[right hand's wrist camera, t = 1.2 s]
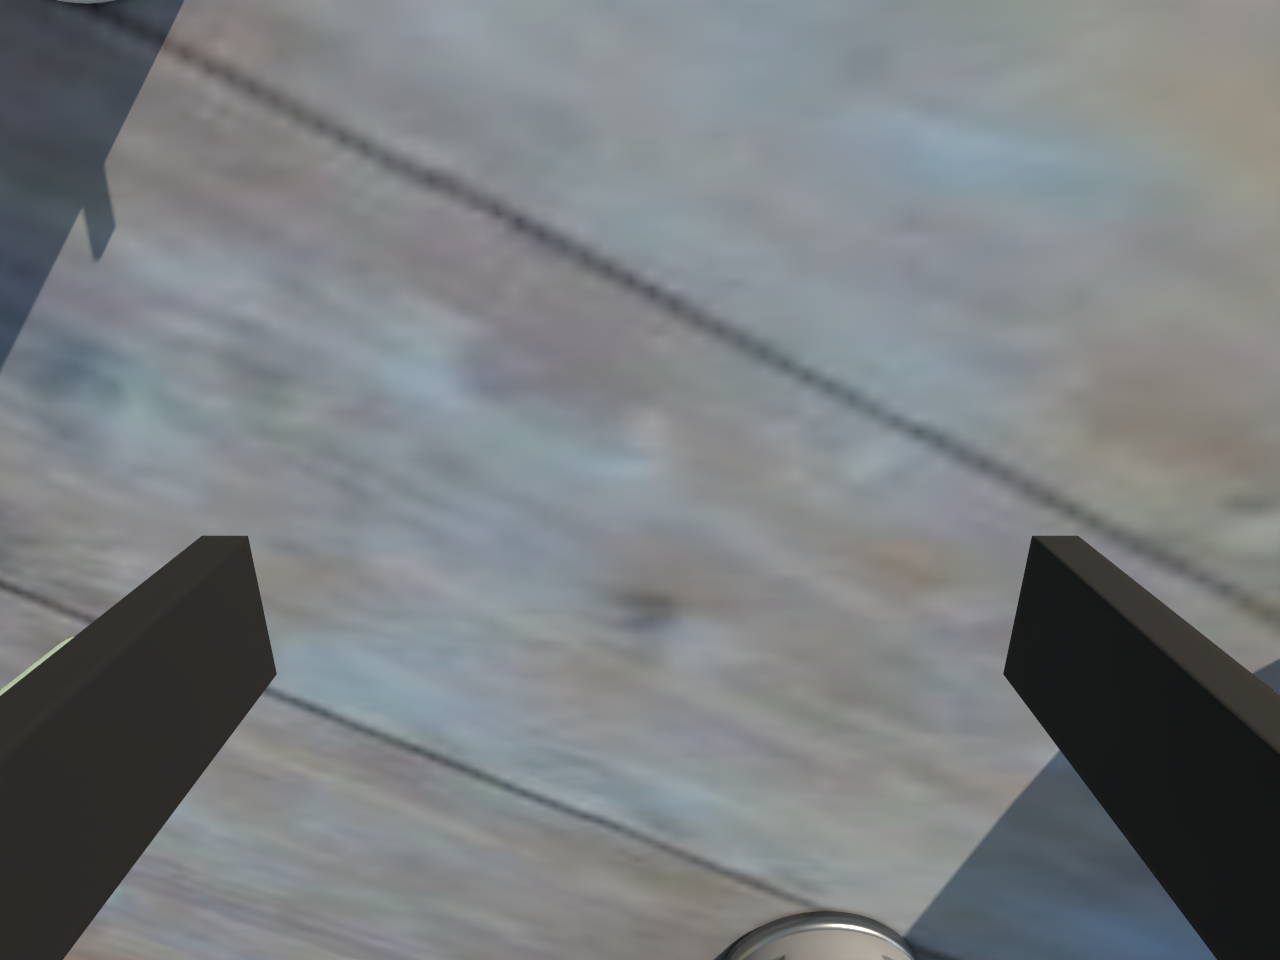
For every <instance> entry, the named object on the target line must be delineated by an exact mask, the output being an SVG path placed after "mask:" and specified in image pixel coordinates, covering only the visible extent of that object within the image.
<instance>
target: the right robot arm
mask: <svg viewBox="0 0 1280 960" xmlns="http://www.w3.org/2000/svg"><path fill="white" fill-rule="evenodd" d="M276 674H277V673H276V669H275V664H274V659H273V654H272V649H271V645H270V640H269V635H268V630H267V625H266V621H265V616H264V611H263V606H262V601H261V597H260V592H259V587H258V582H257V577H256V573H255V568H254V563H253V558H252V554H251V549H250V544H249V539H248V536H201V537H200V538H199V539H197V540H196V541H195V542H194V543H192V544H191V545H190V546H189V547H187V548H186V549H185V550H184V551H182V552H181V553H180V554H179V555H177V556H176V557H175V558H173V559H172V560H171V561H170V562H168V563H167V564H166V565H165V566H163V567H162V568H161V569H160V570H158V571H157V572H156V573H155V574H153V575H152V576H151V577H149V578H148V579H147V580H146V581H144V582H143V583H142V584H141V585H139V586H138V587H137V588H136V589H134V590H133V591H132V592H131V593H129V594H128V595H127V596H125V597H124V598H123V599H122V600H120V601H119V602H118V603H117V604H115V605H114V606H113V607H112V608H110V609H109V610H108V611H107V612H105V613H104V614H103V615H102V616H100V617H99V618H98V619H96V620H95V621H94V622H93V623H91V624H90V625H89V626H88V627H86V628H85V629H84V630H83V631H81V632H80V633H79V634H78V635H76V636H75V637H74V638H72V639H71V640H70V641H69V642H67V643H66V644H65V645H64V646H62V647H61V648H60V649H59V650H57V651H56V652H55V653H54V654H52V655H51V656H50V657H48V658H47V659H46V660H45V661H43V662H42V663H41V664H40V665H38V666H37V667H36V668H35V669H33V670H32V671H31V672H30V673H28V674H27V675H26V676H24V677H23V678H22V679H21V680H19V681H18V682H17V683H16V684H14V685H13V686H12V687H11V688H9V689H8V690H7V691H6V692H4V693H3V694H2V695H1V696H0V960H63V959H64V957H65V956H66V955H67V953H68V952H69V951H70V949H71V948H72V947H73V945H74V944H75V943H76V941H77V940H78V939H79V937H80V936H81V935H82V933H83V932H84V931H85V929H86V928H87V927H88V925H89V924H90V923H91V921H92V920H93V919H94V917H95V916H96V915H97V913H98V912H99V911H100V909H101V908H102V907H103V905H104V904H105V903H106V901H107V900H108V899H109V897H110V896H111V895H112V893H113V892H114V891H115V889H116V888H117V887H118V885H119V884H120V883H121V881H122V880H123V879H124V877H125V876H126V875H127V873H128V872H129V871H130V869H131V868H132V867H133V865H134V864H135V863H136V861H137V860H138V859H139V857H140V856H141V855H142V853H143V852H144V851H145V849H146V848H147V847H148V845H149V844H150V843H151V841H152V840H153V839H154V837H155V836H156V834H157V833H158V832H159V830H160V829H161V828H162V826H163V825H164V824H165V822H166V821H167V820H168V818H169V817H170V816H171V814H172V813H173V812H174V810H175V809H176V808H177V806H178V805H179V804H180V802H181V801H182V800H183V798H184V797H185V796H186V794H187V793H188V792H189V790H190V789H191V788H192V786H193V785H194V784H195V782H196V781H197V780H198V778H199V777H200V776H201V774H202V773H203V772H204V770H205V769H206V768H207V766H208V765H209V764H210V762H211V761H212V760H213V758H214V757H215V756H216V754H217V753H218V752H219V750H220V749H221V748H222V746H223V745H224V744H225V742H226V741H227V740H228V738H229V737H230V736H231V734H232V733H233V732H234V730H235V729H236V728H237V726H238V725H239V724H240V722H241V721H242V720H243V718H244V717H245V716H246V714H247V713H248V712H249V710H250V709H251V708H252V706H253V705H254V704H255V702H256V701H257V700H258V698H259V697H260V696H261V694H262V693H263V692H264V690H265V689H266V688H267V686H268V685H269V684H270V682H271V681H272V680H273V678H274V677H275V676H276ZM1003 674H1004V676H1005V677H1006V678H1007V680H1008V681H1009V682H1010V684H1011V685H1012V686H1013V688H1014V689H1015V690H1016V692H1017V693H1018V694H1019V696H1020V697H1021V698H1022V700H1023V701H1024V702H1025V704H1026V705H1027V706H1028V708H1029V709H1030V710H1031V712H1032V713H1033V714H1034V716H1035V717H1036V718H1037V720H1038V721H1039V722H1040V724H1041V725H1042V726H1043V728H1044V729H1045V730H1046V732H1047V733H1048V734H1049V736H1050V737H1051V738H1052V740H1053V741H1054V742H1055V744H1056V745H1057V746H1058V748H1059V749H1060V750H1061V752H1062V753H1063V754H1064V756H1065V757H1066V758H1067V760H1068V761H1069V762H1070V764H1071V765H1072V766H1073V768H1074V769H1075V770H1076V772H1077V773H1078V774H1079V776H1080V777H1081V778H1082V780H1083V781H1084V782H1085V784H1086V785H1087V786H1088V788H1089V789H1090V790H1091V792H1092V793H1093V794H1094V796H1095V797H1096V798H1097V800H1098V801H1099V802H1100V804H1101V805H1102V806H1103V808H1104V809H1105V810H1106V812H1107V813H1108V814H1109V816H1110V817H1111V818H1112V820H1113V821H1114V822H1115V824H1116V825H1117V826H1118V828H1119V829H1120V830H1121V832H1122V833H1123V835H1124V836H1125V837H1126V839H1127V840H1128V841H1129V843H1130V844H1131V845H1132V847H1133V848H1134V849H1135V851H1136V852H1137V853H1138V855H1139V856H1140V857H1141V859H1142V860H1143V861H1144V863H1145V864H1146V865H1147V867H1148V868H1149V869H1150V871H1151V872H1152V873H1153V875H1154V876H1155V877H1156V879H1157V880H1158V881H1159V883H1160V884H1161V885H1162V887H1163V888H1164V889H1165V891H1166V892H1167V893H1168V895H1169V896H1170V897H1171V899H1172V900H1173V901H1174V903H1175V904H1176V905H1177V907H1178V908H1179V909H1180V911H1181V912H1182V913H1183V915H1184V916H1185V917H1186V919H1187V920H1188V921H1189V923H1190V924H1191V925H1192V927H1193V928H1194V929H1195V931H1196V932H1197V933H1198V935H1199V936H1200V937H1201V939H1202V940H1203V941H1204V943H1205V944H1206V945H1207V947H1208V948H1209V949H1210V951H1211V952H1212V953H1213V955H1214V956H1215V957H1216V959H1217V960H1280V696H1279V695H1278V694H1277V693H1276V692H1274V691H1273V690H1272V689H1271V688H1269V687H1268V686H1267V685H1266V684H1264V683H1263V682H1262V681H1261V680H1259V679H1258V678H1257V677H1256V676H1254V675H1253V674H1252V673H1250V672H1249V671H1248V670H1247V669H1245V668H1244V667H1243V666H1242V665H1240V664H1239V663H1238V662H1237V661H1235V660H1234V659H1233V658H1232V657H1230V656H1229V655H1228V654H1226V653H1225V652H1224V651H1223V650H1221V649H1220V648H1219V647H1218V646H1216V645H1215V644H1214V643H1213V642H1211V641H1210V640H1209V639H1208V638H1206V637H1205V636H1204V635H1202V634H1201V633H1200V632H1199V631H1197V630H1196V629H1195V628H1194V627H1192V626H1191V625H1190V624H1189V623H1187V622H1186V621H1185V620H1184V619H1182V618H1181V617H1180V616H1178V615H1177V614H1176V613H1175V612H1173V611H1172V610H1171V609H1170V608H1168V607H1167V606H1166V605H1165V604H1163V603H1162V602H1161V601H1160V600H1158V599H1157V598H1156V597H1155V596H1153V595H1152V594H1151V593H1149V592H1148V591H1147V590H1146V589H1144V588H1143V587H1142V586H1141V585H1139V584H1138V583H1137V582H1136V581H1134V580H1133V579H1132V578H1131V577H1129V576H1128V575H1127V574H1125V573H1124V572H1123V571H1122V570H1120V569H1119V568H1118V567H1117V566H1115V565H1114V564H1113V563H1112V562H1110V561H1109V560H1108V559H1107V558H1105V557H1104V556H1103V555H1101V554H1100V553H1099V552H1098V551H1096V550H1095V549H1094V548H1093V547H1091V546H1090V545H1089V544H1088V543H1086V542H1085V541H1084V540H1083V539H1081V538H1080V537H1079V536H1032V539H1031V544H1030V549H1029V554H1028V558H1027V563H1026V568H1025V573H1024V577H1023V582H1022V587H1021V592H1020V597H1019V601H1018V606H1017V611H1016V616H1015V621H1014V625H1013V630H1012V635H1011V640H1010V645H1009V649H1008V654H1007V659H1006V664H1005V669H1004V673H1003ZM724 960H917V959H916V957H915V955H914V953H913V951H912V949H911V948H910V946H909V945H908V944H907V942H906V941H905V940H904V939H903V938H902V937H901V936H900V935H899V934H897V933H896V932H895V931H893V930H892V929H890V928H889V927H887V926H885V925H884V924H882V923H879V922H877V921H875V920H872V919H870V918H867V917H863V916H860V915H855V914H850V913H843V912H829V911H823V912H809V913H802V914H796V915H792V916H788V917H784V918H781V919H778V920H775V921H773V922H770V923H768V924H766V925H764V926H762V927H760V928H758V929H756V930H754V931H753V932H751V933H750V934H748V935H747V936H745V937H744V938H743V939H742V940H740V941H739V942H738V943H737V944H736V945H735V946H734V947H733V948H732V949H731V950H730V952H729V953H728V954H727V956H726V957H725V959H724Z"/></svg>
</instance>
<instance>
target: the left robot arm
mask: <svg viewBox="0 0 1280 960" xmlns="http://www.w3.org/2000/svg"><path fill="white" fill-rule="evenodd" d="M57 1H63V2H70V3H86V4H90V3H103V2H110V1H115V0H57Z"/></svg>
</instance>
